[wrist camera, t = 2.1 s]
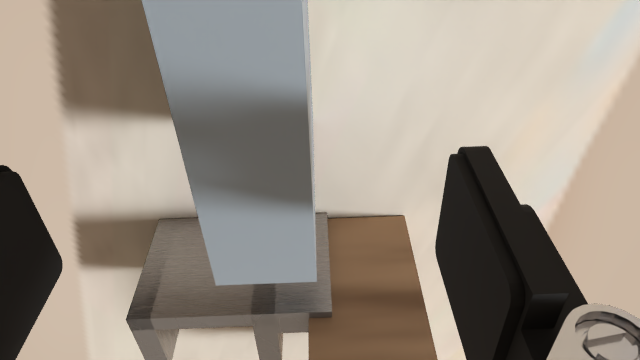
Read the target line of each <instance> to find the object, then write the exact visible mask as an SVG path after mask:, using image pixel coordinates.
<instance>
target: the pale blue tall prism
mask: <svg viewBox="0 0 640 360" xmlns="http://www.w3.org/2000/svg"><path fill="white" fill-rule="evenodd" d="M142 3H143V7H144V11H145V15H146V19H147V23H148V26H149V30H150V34H151V38H152V42H153V46H154V49H155V53H156V57H157V61H158V65H159V69H160V73H161V76H162V80H163V84H164V88H165V92H166V96H167V99H168V103H169V107H170V111H171V115H172V119H173V122H174V126H175V130H176V134H177V138H178V142H179V145H180V149H181V153H182V157H183V161H184V165H185V168H186V172H187V176H188V180H189V184H190V188H191V192H192V195H193V199H194V203H195V207H196V211H197V215H198V218H199V222H200V226H201V230H202V234H203V238H204V241H205V245H206V249H207V253H208V257H209V261H210V264H211V268H212V272H213V276H214V280H215V284H216V285H243V284H269V283H295V282H317V269H316V226H315V184H314V141H313V109H312V87H311V65H310V43H309V21H308V0H142Z"/></svg>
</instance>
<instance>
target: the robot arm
mask: <svg viewBox="0 0 640 360" xmlns="http://www.w3.org/2000/svg"><path fill="white" fill-rule="evenodd" d="M435 249H436V257H437V261H438V265H439V268H440V271H441V275H442V278H443V281H444V285H445V288H446V292H447V295H448V298H449V302H450V305H451V309H452V312H453V315H454V319H455V322H456V325H457V329H458V332H459V336H460V339H461V342H462V346H463V349H464V352H465V356H466V359H467V360H640V319H639V318H637V317H635V316H633V315H631V314H630V313H628V312H626V311H624V310H622V309H618V308H616V307H613V306H610V305H603V304H588V303H587V301H586V300H585V298H584V296H583V294H582V293H581V291H580V289H579V287H578V286H577V284H576V283H575V281H574V279H573V277H572V275H571V274H570V272H569V270H568V269H567V267H566V265H565V263H564V261H563V260H562V258H561V256H560V255H559V253H558V251H557V249H556V248H555V246H554V244H553V242H552V241H551V239H550V237H549V235H548V234H547V232H546V230H545V228H544V227H543V225H542V223H541V221H540V220H539V218H538V216H537V215H536V213H535V211H534V210H533V209H532V207H531V206H529V205H527V204H526V205H520V203H519V201H518V199H517V197H516V196H515V194H514V192H513V190H512V188H511V187H510V185H509V183H508V181H507V179H506V177H505V176H504V174H503V172H502V170H501V168H500V167H499V165H498V163H497V161H496V159H495V157H494V156H493V154H492V152H491V150H490V149H489V147H487V146H477V147H461V148H459V150H458V154H451V155H450V157H449V162H448V168H447V174H446V181H445V187H444V193H443V200H442V206H441V212H440V219H439V225H438V231H437V237H436V246H435ZM61 272H62V259H61V256H60V254H59V252H58V250H57V248H56V246H55V244H54V242H53V240H52V238H51V237H50V234H49V232H48V231H47V228H46V226H45V225H44V223H43V221H42V219H41V217H40V215H39V213H38V211H37V209H36V207H35V205H34V203H33V201H32V199H31V197H30V195H29V193H28V191H27V189H26V187H25V185H24V183H23V181H22V179H21V177H20V176H19V174H17V173H16V172H13V171H12V170H11V169H10V168H9V167H7V166H4V165H0V360H15V359H16V358H17V356H18V354H19V352H20V350H21V348H22V346H23V344H24V342H25V340H26V339H27V337H28V335H29V333H30V331H31V329H32V327H33V325H34V324H35V321H36V320H37V317H38V316H39V314H40V312H41V310H42V308H43V306H44V305H45V303H46V301H47V299H48V297H49V295H50V293H51V291H52V289H53V288H54V286H55V284H56V282H57V280H58V278H59V276H60V274H61Z"/></svg>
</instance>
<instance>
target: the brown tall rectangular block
mask: <svg viewBox="0 0 640 360" xmlns="http://www.w3.org/2000/svg"><path fill="white" fill-rule="evenodd" d="M327 223H328V242H329V262H330V281H331V301H332V317H330V318H309V360H437V355H436V351H435V347H434V342H433V338H432V334H431V329H430V325H429V321H428V316H427V312H426V308H425V303H424V299H423V295H422V290H421V286H420V282H419V277H418V273H417V269H416V264H415V260H414V256H413V251H412V247H411V243H410V238H409V234H408V230H407V225H406V221H405V217H404V216H385V217H359V218H332V219H327Z"/></svg>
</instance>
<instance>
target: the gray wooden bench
mask: <svg viewBox="0 0 640 360" xmlns="http://www.w3.org/2000/svg"><path fill="white" fill-rule="evenodd" d="M315 226H316V269H317V282H295V283H269V284H243V285H216V284H215V280H214V276H213V272H212V268H211V264H210V261H209V257H208V253H207V249H206V245H205V241H204V238H203V234H202V230H201V226H200V222H199V218H185V219H159V222H158V225H157V228H156V231H155V234H154V237H153V240H152V243H151V246H150V249H149V252H148V255H147V258H146V261H145V264H144V267H143V270H142V273H141V276H140V279H139V282H138V285H137V288H136V291H135V294H134V297H133V300H132V303H131V306H130V309H129V312H128V315H127V318H126V321H127V323H128V325H129V327H130V329H131V331H132V333H133V335H134V338H135V340H136V342H137V344H138V346H139V348H140V350H141V352H142V354H143V356H144V358H145V360H172V358H173V353H174V349H175V345H176V340H177V336H178V332H179V329H188V328H214V327H240V326H253V329H254V334H255V339H256V344H257V349H258V354H259V359H260V360H282V345H283V333H295V332H309V318H330V317H332V301H331V281H330V262H329V242H328V223H327V213H316V214H315Z"/></svg>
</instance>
